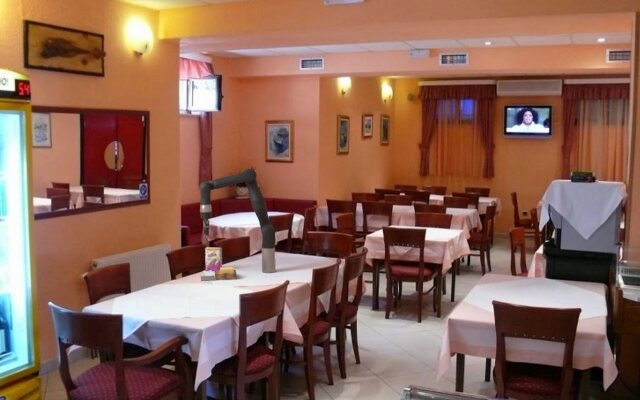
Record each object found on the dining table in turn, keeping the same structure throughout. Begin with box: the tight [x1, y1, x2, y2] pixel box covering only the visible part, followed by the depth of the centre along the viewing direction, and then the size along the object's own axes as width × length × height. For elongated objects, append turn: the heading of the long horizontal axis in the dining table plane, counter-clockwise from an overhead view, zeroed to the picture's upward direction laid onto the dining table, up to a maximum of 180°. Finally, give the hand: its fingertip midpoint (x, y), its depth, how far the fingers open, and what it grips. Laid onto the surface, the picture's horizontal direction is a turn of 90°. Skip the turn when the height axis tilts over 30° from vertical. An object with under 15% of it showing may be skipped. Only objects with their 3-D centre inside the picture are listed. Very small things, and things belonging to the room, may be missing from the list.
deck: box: [214, 269, 238, 281], centre depth 425 cm, size 14×13×4 cm
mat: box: [200, 275, 216, 282], centre depth 423 cm, size 9×14×1 cm, turn 12°
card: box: [220, 266, 235, 273], centre depth 425 cm, size 9×6×2 cm, turn 102°
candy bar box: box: [204, 246, 223, 272], centre depth 449 cm, size 11×5×16 cm, turn 84°
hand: (206, 234), depth 433 cm, fingers open, 8 cm apart
